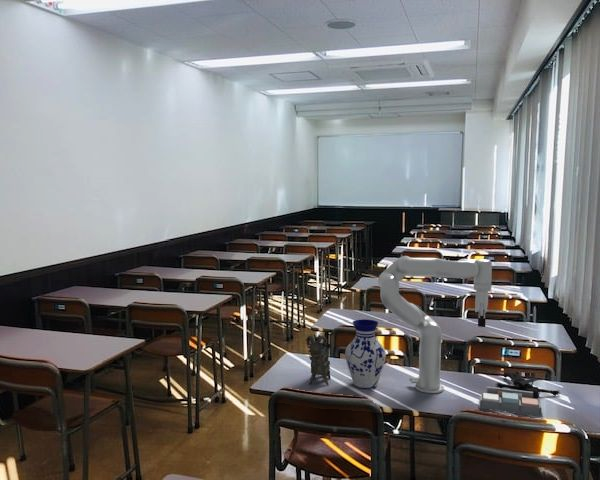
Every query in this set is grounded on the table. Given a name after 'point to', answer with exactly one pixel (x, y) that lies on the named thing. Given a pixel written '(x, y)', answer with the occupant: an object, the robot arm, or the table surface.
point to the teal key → (509, 398)
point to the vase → (365, 355)
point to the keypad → (508, 406)
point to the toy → (524, 385)
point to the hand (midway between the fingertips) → (481, 326)
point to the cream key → (491, 397)
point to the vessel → (319, 357)
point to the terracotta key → (529, 401)
